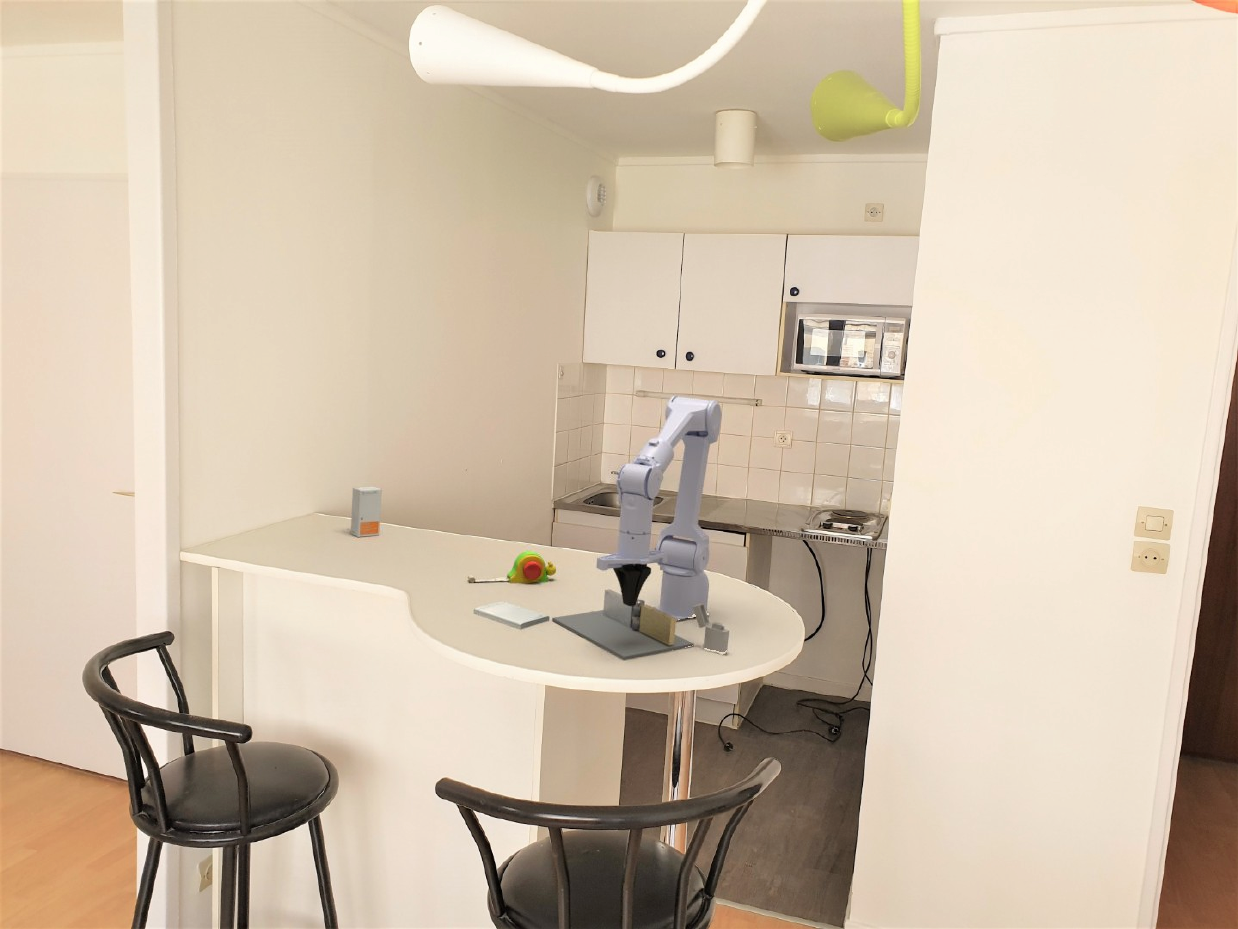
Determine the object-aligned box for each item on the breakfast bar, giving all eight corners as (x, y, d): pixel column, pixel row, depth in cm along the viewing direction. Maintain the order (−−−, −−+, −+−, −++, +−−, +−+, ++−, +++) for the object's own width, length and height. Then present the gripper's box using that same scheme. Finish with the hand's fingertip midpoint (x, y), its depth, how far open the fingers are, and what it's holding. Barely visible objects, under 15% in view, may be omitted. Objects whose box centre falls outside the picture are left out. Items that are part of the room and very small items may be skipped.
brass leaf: (629, 627, 176) (631, 600, 176) (638, 626, 178) (640, 599, 177) (667, 645, 168) (669, 617, 167) (675, 644, 169) (678, 616, 168)
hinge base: (618, 610, 189) (620, 583, 188) (693, 646, 171) (695, 617, 170) (552, 620, 180) (554, 592, 179) (623, 660, 162) (626, 629, 161)
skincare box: (357, 537, 232) (359, 490, 230) (350, 534, 235) (351, 487, 233) (380, 535, 236) (382, 489, 234) (372, 531, 239) (374, 486, 237)
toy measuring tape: (558, 584, 205) (560, 555, 204) (470, 586, 199) (472, 556, 198) (551, 576, 211) (553, 548, 210) (465, 578, 205) (467, 549, 204)
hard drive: (549, 615, 180) (503, 599, 187) (520, 624, 173) (473, 607, 180) (549, 623, 180) (502, 607, 187) (520, 632, 173) (473, 615, 181)
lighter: (727, 652, 169) (731, 610, 168) (722, 655, 168) (726, 612, 167) (694, 642, 173) (697, 601, 172) (689, 645, 172) (693, 603, 171)
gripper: (615, 539, 159) (609, 616, 161) (680, 532, 167) (674, 605, 169) (591, 530, 164) (586, 604, 166) (655, 524, 173) (650, 595, 175)
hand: (629, 604), depth 168 cm, fingers closed
